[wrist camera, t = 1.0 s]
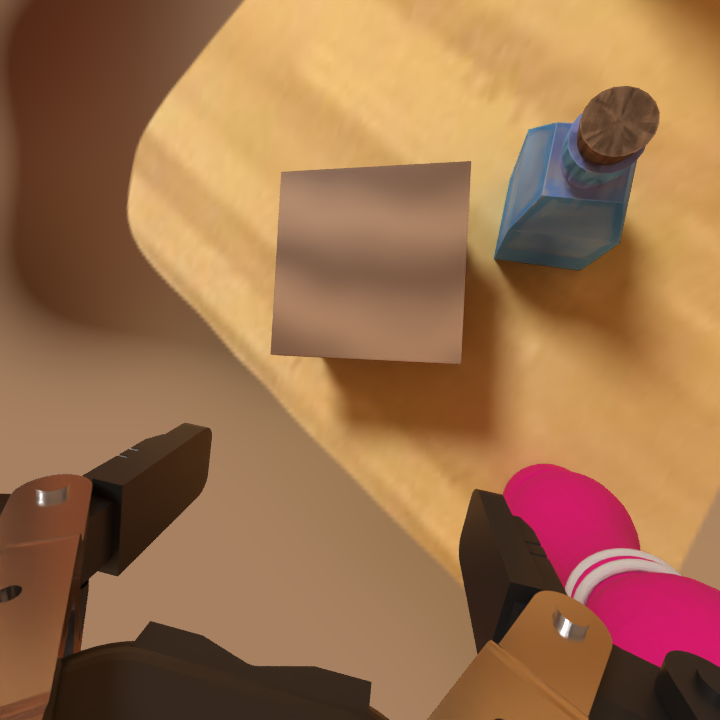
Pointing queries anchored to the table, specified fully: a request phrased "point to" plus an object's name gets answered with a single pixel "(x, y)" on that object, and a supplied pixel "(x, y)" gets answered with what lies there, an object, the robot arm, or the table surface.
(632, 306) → the table surface
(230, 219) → the table surface
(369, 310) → the brown legged piece
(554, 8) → the table surface
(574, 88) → the table surface
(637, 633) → the pepper mill
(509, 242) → the perfume bottle
